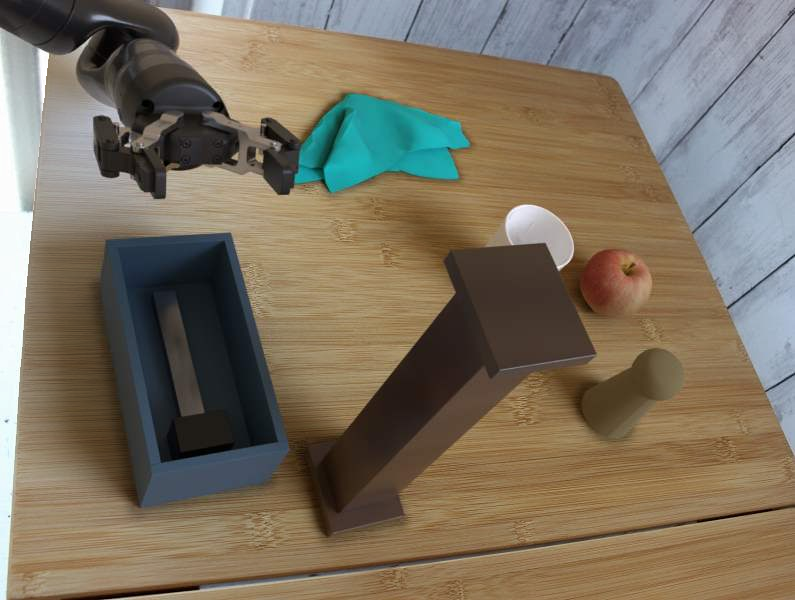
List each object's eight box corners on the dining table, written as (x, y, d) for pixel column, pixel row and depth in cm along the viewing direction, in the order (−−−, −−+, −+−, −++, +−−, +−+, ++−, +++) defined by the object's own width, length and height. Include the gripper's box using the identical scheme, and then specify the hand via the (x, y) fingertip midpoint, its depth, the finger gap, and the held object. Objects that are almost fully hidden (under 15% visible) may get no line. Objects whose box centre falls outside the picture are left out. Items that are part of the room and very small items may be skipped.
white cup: (531, 273, 95) (577, 223, 87) (522, 328, 91) (570, 280, 83) (469, 246, 94) (510, 192, 86) (457, 300, 89) (499, 248, 81)
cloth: (444, 94, 106) (451, 82, 104) (487, 180, 101) (495, 168, 99) (249, 98, 93) (254, 84, 92) (286, 197, 88) (292, 184, 86)
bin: (266, 483, 71) (290, 449, 65) (139, 508, 66) (151, 475, 60) (214, 278, 80) (231, 232, 74) (98, 288, 75) (105, 239, 69)
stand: (400, 520, 74) (598, 355, 49) (327, 538, 71) (499, 370, 45) (374, 436, 77) (545, 242, 52) (303, 450, 74) (450, 249, 49)
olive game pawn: (589, 376, 90) (649, 327, 82) (636, 406, 91) (701, 360, 82) (574, 418, 87) (635, 371, 78) (622, 449, 87) (689, 406, 78)
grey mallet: (226, 458, 70) (235, 442, 67) (173, 469, 68) (180, 452, 65) (186, 296, 77) (192, 275, 74) (136, 301, 75) (141, 280, 72)
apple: (579, 329, 93) (619, 293, 87) (559, 269, 97) (597, 230, 91) (636, 330, 97) (679, 295, 90) (615, 272, 100) (655, 234, 94)
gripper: (74, 58, 63) (115, 129, 50) (256, 65, 69) (331, 130, 57) (76, 153, 66) (115, 241, 54) (249, 151, 73) (319, 229, 61)
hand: (226, 184), depth 55 cm, fingers open, 8 cm apart
